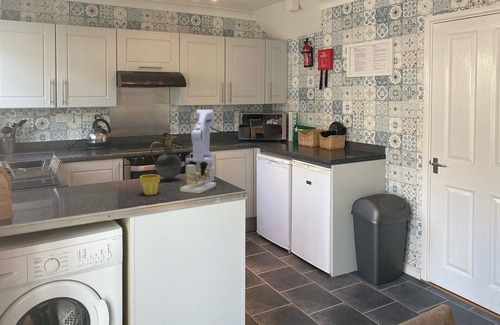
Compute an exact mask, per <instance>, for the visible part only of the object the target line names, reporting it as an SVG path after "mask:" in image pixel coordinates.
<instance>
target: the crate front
mask: <svg viewBox="0 0 500 325" xmlns="http://www.w3.org/2000/svg"><path fill="white" fill-rule="evenodd" d="M185 167H186V169H185V170H186V173H195V172H196V170H197V164H196V165H189V164H188V165H186V166H185Z"/></svg>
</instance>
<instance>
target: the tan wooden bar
mask: <svg viewBox="0 0 500 325" xmlns="http://www.w3.org/2000/svg"><path fill="white" fill-rule="evenodd" d="M185 175H186V179H185V180H186V185H188V184H197V183H198V182H202V181H204V179H206V180H207V179H210V168H208V169H205V173H204V175H203V176H201V169H199V168H196V172H195V173H186V174H185Z"/></svg>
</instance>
